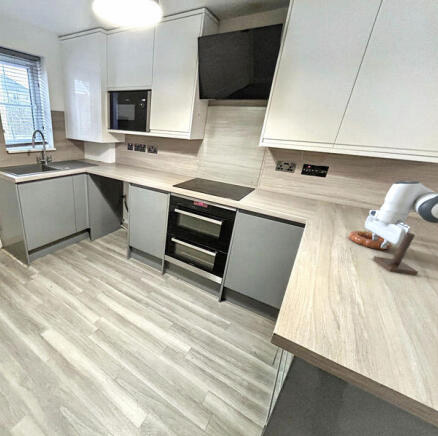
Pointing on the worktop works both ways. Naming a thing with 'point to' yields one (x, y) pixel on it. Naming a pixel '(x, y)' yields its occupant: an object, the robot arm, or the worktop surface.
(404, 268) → the stand
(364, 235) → the ring
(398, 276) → the worktop surface
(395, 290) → the worktop surface
